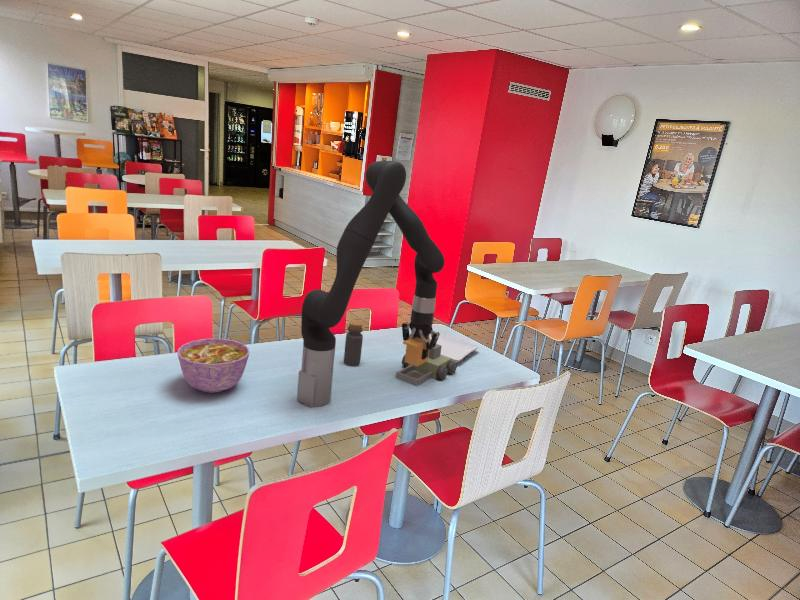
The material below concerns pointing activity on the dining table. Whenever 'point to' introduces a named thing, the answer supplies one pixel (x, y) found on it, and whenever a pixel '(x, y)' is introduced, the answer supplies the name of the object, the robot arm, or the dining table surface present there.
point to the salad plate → (454, 347)
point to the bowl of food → (213, 363)
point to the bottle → (353, 344)
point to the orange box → (414, 351)
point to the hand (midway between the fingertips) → (416, 356)
